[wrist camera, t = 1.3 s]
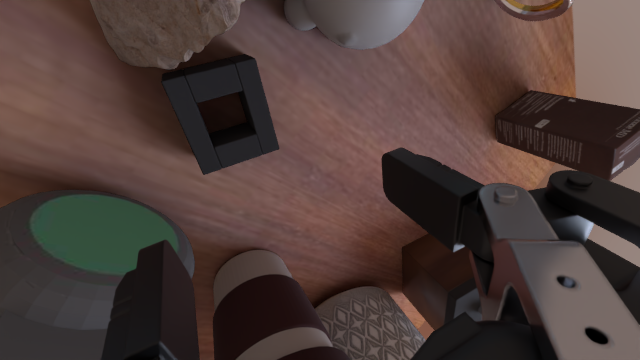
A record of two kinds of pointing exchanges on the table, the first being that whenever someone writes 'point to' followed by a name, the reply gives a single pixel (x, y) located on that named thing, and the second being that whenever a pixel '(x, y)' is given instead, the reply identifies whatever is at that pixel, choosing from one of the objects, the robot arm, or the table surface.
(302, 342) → the coffee cup
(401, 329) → the planter
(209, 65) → the top pad
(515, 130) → the box
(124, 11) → the stone
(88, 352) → the headphones
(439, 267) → the stand
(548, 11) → the ring
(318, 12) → the chubby cartoon animal
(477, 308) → the base pad
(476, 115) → the table surface
